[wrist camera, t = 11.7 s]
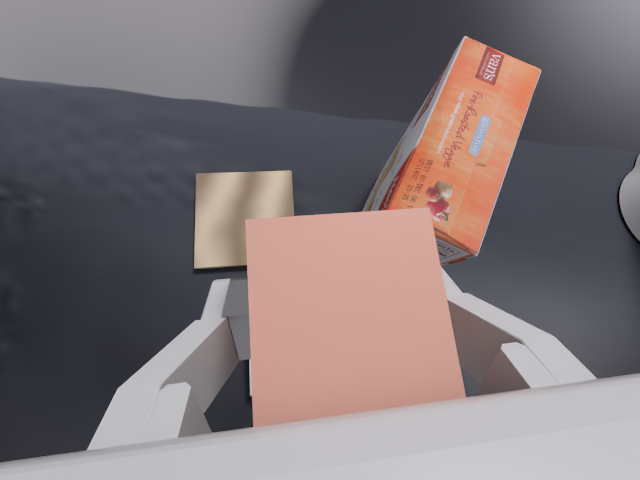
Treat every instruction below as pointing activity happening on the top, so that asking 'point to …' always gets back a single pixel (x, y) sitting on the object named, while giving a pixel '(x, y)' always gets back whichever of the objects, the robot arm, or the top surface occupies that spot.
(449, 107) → the cracker box
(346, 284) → the block
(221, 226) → the board
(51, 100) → the top surface
